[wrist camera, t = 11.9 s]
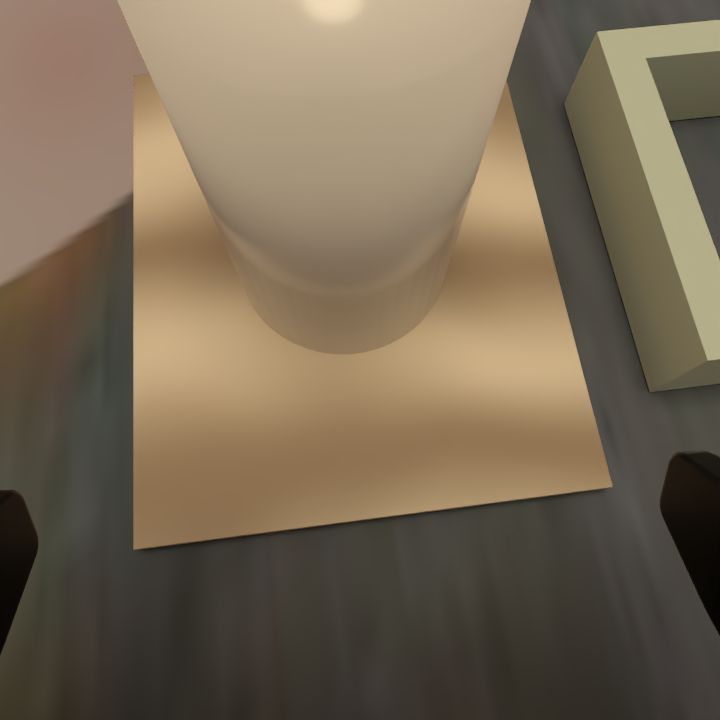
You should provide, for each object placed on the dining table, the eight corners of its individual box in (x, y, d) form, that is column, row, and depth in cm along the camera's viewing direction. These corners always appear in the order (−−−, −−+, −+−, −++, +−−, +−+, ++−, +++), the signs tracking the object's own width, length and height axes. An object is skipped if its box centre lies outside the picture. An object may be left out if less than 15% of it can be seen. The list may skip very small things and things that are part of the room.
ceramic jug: (456, 348, 17) (580, 87, 7) (239, 359, 17) (82, 108, 7) (431, 127, 19) (498, -278, 10) (242, 135, 19) (128, -267, 10)
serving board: (603, 489, 16) (612, 486, 16) (141, 549, 16) (133, 549, 15) (492, 53, 21) (495, 40, 21) (140, 88, 21) (133, 75, 20)
